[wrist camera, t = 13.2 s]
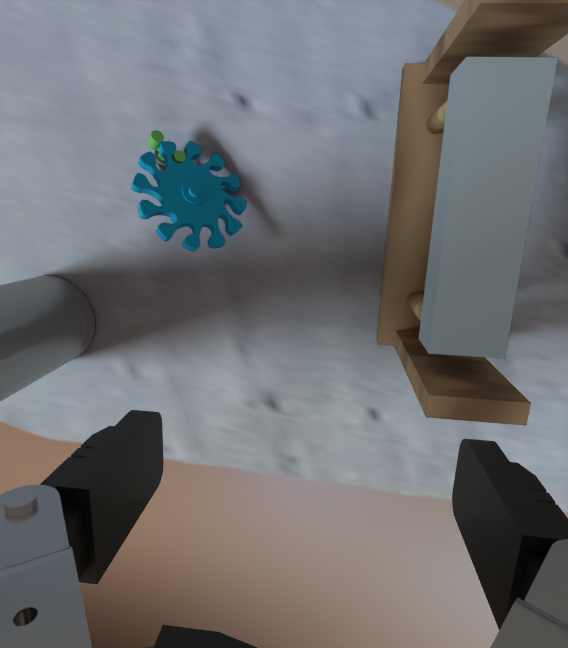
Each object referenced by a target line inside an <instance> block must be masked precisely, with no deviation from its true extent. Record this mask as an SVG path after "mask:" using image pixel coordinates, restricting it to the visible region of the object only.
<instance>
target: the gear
mask: <svg viewBox="0 0 568 648" xmlns="http://www.w3.org/2000/svg"><path fill="white" fill-rule="evenodd" d="M163 139H164V136H163V134H162V133H161V132H160V131H157V130H155V131H153V132H152V133H151V136H150V138H149V141H148V146H149V147H150V148H151V149H153V150H155V153H154V154H153V153H152V152H147V153H145V154H143V155H142V156H141V157H140V159H139V161H138V163H139V165H140V167H141V168H142V169H144V170H146V171H148V172H149V173H150V174H151V175H152V176H153V177H154V178H155V180H156V182H157V184H158V187H154V186H152V185H151V184H150V183H149V181H148V179H147V178H146V177H145V176H144V175H143V174H141V173H137V174H136V176H135V178H134V180H133V183H132V186H131V189H132V190H133V191H135V192H137V193H146V194H149V195H151V196H153V197H154V198H156V199H157V200H158V201H159V202H160V203H161V205H162V206H156V205H154V204H153V203H151V202H150V201H148V200H141V201H140V203H139V205H138V211H139V215H140V218H142V219H149V218H150V217H152V216H156V215H164V216H169V217H171V221H172V222H173V223H174V224H170V223H161V224H160V225H159V226H158V228H157V229H156V232H157V234H158V236H159V237H160V238H161V239H162V240H163V241H164V242H165V241H168V240H170V238H171V237H172V236H173V234H174V232H175V231H176V230H177V229H179V228H181V227H184V226H187V227H190V228H191V229H192V231H193V234H190V235H188V236H187V237H186V238H185V239H184V240H183V242H182V246H183V247H184V248H186V249H187V250H190V251H193V252H195V251H196V250H197V249H198V248H199V246H200V238H199V235H200V231H201V229H202V227H208V228H209V229H210V230H211V236H210V238H209V239H208V246H209V247H210V248H220V247H222V246H223V245H224V244H225V238H224V236H223V235H222V234H221V232H220V230H219V227H218V218H221V219H222V220H224V222H225V230H226V232H227V234H228V235H230V236H232V235H234V234H235V233H236V232H237V231H238V230H240V228H241V227H242V224H241V223H240V222H239V221H238V220H236V219H235V218H233V217H232V216H231V215H230V214H229V213H228V211H227V209H226V207H225V205H224V203H227V204H228V205H229V206H230V207H231V209H232V211H233V212H234V213H235V214H237V215H241V213H242V212H243V211H244V210H245V208H246V203H247V202H246V200H244V199H243V198H236V197H233V196H230V195H229V194H227V193H226V192H225V191H224V190H222V188H221V186H224V187H226V188H227V189H228V190H230V191H232V192H235V191H237V190H238V188H239V187H240V181H239V178H238V175H235V174H232V175H230V176H228V177H218V176H214V175H212V174H211V173H210V171H209V170H213V171H220V170H221V169H222V167H223V166H224V164H225V163H224V161H223V159H222V158H221V157H220V156H219V155H218V154H217V153H215V154H213V155H212V157H211V158H210V160H209V162H207V163H206V164H203V165H195V164H194V163H193V162H192V159H196V158H197V157H198V156H199V154H200V152H201V147H200V146H199V145H198V144H196V143H194V142H192V141H189V142H188V143H187V145H186V147H185V149H184V152H185V154H184V153H183V152H182V151H180V150H177V151H176V145H175V143H173V142H169V141H163ZM162 141H163V142H162Z"/></svg>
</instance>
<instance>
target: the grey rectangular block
mask: <svg viewBox="0 0 568 648" xmlns="http://www.w3.org/2000/svg"><path fill="white" fill-rule="evenodd" d="M557 59H558V58H547V57H466V58H465V59H464V60H463V61H462V63H461V64H460V65H459V66H458V67H457V68H456V69H455V70H454V72H453V73H452V74H451V76H450V84H449V92H448V100H447V109H446V117H445V125H444V133H443V142H442V150H441V158H440V166H439V175H438V183H437V191H436V200H435V208H434V216H433V224H432V233H431V241H430V249H429V257H428V266H427V274H426V282H425V290H424V299H423V307H422V315H421V323H420V332H419V340H420V341H421V343H422V344H423V346H424V347H425V349H426V350H427V352H428V353H429V354H444V355H458V356H473V357H488V358H503V359H505V356H506V350H507V345H508V339H509V333H510V327H511V322H512V316H513V310H514V305H515V299H516V293H517V288H518V282H519V276H520V270H521V265H522V259H523V253H524V248H525V242H526V236H527V230H528V225H529V219H530V213H531V208H532V202H533V196H534V191H535V185H536V179H537V173H538V168H539V162H540V156H541V151H542V145H543V139H544V133H545V128H546V122H547V116H548V111H549V105H550V99H551V94H552V88H553V82H554V76H555V71H556V65H557Z"/></svg>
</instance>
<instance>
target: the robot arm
mask: <svg viewBox="0 0 568 648" xmlns="http://www.w3.org/2000/svg"><path fill="white" fill-rule="evenodd" d="M94 332H95V318H94V313H93V310H92V308H91V305H90V303H89V302H88V300H87V298H86V297H85V295H84V294H83V293H82V292H81V291H80V290H79V289H78V288H77V287H76V286H74V285H73V284H72V283H70V282H68V281H66V280H64V279H62V278H58V277H55V276H40V277H35V278H30V279H26V280H22V281H17V282H13V283H8V284H4V285H0V401H2V400H4V399H5V398H7V397H9V396H11V395H12V394H14V393H16V392H17V391H19V390H21V389H23V388H24V387H26V386H28V385H29V384H31V383H33V382H35V381H36V380H38V379H40V378H41V377H43V376H45V375H47V374H48V373H50V372H52V371H54V370H55V369H57V368H59V367H61V366H62V365H64V364H66V363H67V362H69V361H71V360H72V359H74V358H76V357H78V356H79V355H80V354H82V353H83V352H84V351H85V350H86V349H87V348H88V347H89V345H90V343H91V341H92V340H93V336H94ZM162 473H163V436H162V418H161V415H160V413H159V412H150V411H138V410H131V411H130V412H128V413H127V414H126V415H125V416H124V417H123V418H122V419H121V420H120V421H119V422H118V423H117V424H116V425H115V426H109V427H107V428H105V429H103V430H101V431H99V432H97V433H95V434H93V435H92V436H91V437H90V438H89V439H87V440H86V441H85V442H84V443H83V444H82V445H81V448H78V449H77V450H76V451H75V452H74V453H73V454H72V455H71V457H69V458H67V459H66V461H64V462H63V463H62V464H61V465H60V466H59V467H58V468H57V469H56V470H55V471H54V472H53V473H52V474H51V475H49V477H47V478H46V479H45V480H44V481H43V482H42V483H41V484H40V485H28V486H23V487H19V488H15V489H12V490H10V491H7V492H5V493H3V494H1V495H0V648H92V646H91V641H90V636H89V631H88V626H87V621H86V616H85V611H84V606H83V601H82V596H81V590H80V585H79V582H83V583H91V584H98V582H99V581H100V579H101V578H102V576H103V574H104V573H105V571H106V570H107V568H108V566H109V565H110V563H111V562H112V560H113V558H114V557H115V555H116V554H117V552H118V550H119V549H120V547H121V545H122V544H123V542H124V541H125V539H126V538H127V536H128V534H129V533H130V531H131V529H132V528H133V526H134V525H135V523H136V521H137V520H138V518H139V516H140V515H141V513H142V512H143V510H144V509H145V507H146V505H147V504H148V502H149V500H150V499H151V497H152V496H153V494H154V493H155V491H156V489H157V488H158V486H159V484H160V481H161V477H162ZM452 503H453V512H454V516H455V519H456V522H457V524H458V527H459V529H460V532H461V534H462V537H463V539H464V542H465V545H466V547H467V550H468V552H469V555H470V557H471V560H472V562H473V565H474V567H475V570H476V572H477V575H478V578H479V580H480V583H481V585H482V588H483V590H484V593H485V595H486V598H487V600H488V603H489V605H490V608H491V610H492V613H493V615H494V618H495V621H496V623H497V625H498V628H499V633H498V635H497V636H496V638H495V640H494V642H493V644H492V646H491V648H568V518H567V517H566V516H565V514H564V513H563V511H562V510H561V509H560V508H559V506H558V505H555V501H554V500H553V498H552V497H551V496H550V494H549V493H546V489H545V488H544V486H543V485H542V484H541V482H540V481H539V480H538V478H537V477H536V476H535V475H534V474H532V473H531V472H530V471H528V470H527V469H525V468H524V467H523V466H521V465H520V464H518V463H514V462H509V460H508V459H507V457H506V456H505V455H504V453H503V452H502V450H501V449H500V447H499V446H498V445H497V443H496V442H494V441H485V440H474V439H463V440H462V441H461V444H460V448H459V454H458V461H457V467H456V473H455V480H454V486H453V494H452ZM146 648H257V647H254V646H252V645H249V644H247V643H244V642H242V641H239V640H237V639H235V638H232V637H230V636H227V635H225V634H222V633H220V632H214V631H206V630H199V629H191V628H183V627H175V626H168V625H163V626H162V628H161V631H160V633H159V635H158V638H157V640H156V643H155V645H154V646H153V647H146Z"/></svg>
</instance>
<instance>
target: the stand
mask: <svg viewBox="0 0 568 648" xmlns="http://www.w3.org/2000/svg"><path fill="white" fill-rule="evenodd" d="M566 34H568V0H465V1H464V2H463V4H462V5H461V7H460V8H459V10H458V11H457V13H456V15H455V16H454V18H453V19H452V21H451V22H450V24H449V26H448V27H447V29H446V30H445V32H444V33H443V35H442V37H441V38H440V40H439V41H438V43H437V44H436V46H435V47H434V49H433V51H432V52H431V54H430V55H429V57H428V58H427V60H426V62H425V63H424V64H421V63H405V65H404V67H403V70H402V80H401V91H400V101H399V112H398V122H397V132H396V143H395V153H394V164H393V174H392V184H391V195H390V205H389V216H388V226H387V237H386V247H385V257H384V268H383V278H382V289H381V299H380V309H379V320H378V330H377V343H378V345H391V346H394V347H395V349H396V351H397V353H398V356H399V358H400V360H401V362H402V365H403V367H404V369H405V371H406V373H407V376H408V378H409V380H410V382H411V385H412V387H413V389H414V391H415V394H416V396H417V398H418V400H419V402H420V405H421V407H422V409H423V411H424V414H425V416H426V417H428V418H440V419H452V420H465V421H477V422H489V423H502V424H514V425H527V420H528V415H529V410H530V404H531V403H530V402H529V401H528V400H527V399H526V398H525V397H524V396H523V395H522V394H521V393H520V392H519V391H518V390H517V389H516V388H515V387H514V386H513V385H512V384H511V383H510V382H509V381H508V380H507V379H506V378H505V377H504V376H503V375H502V374H501V373H500V372H499V371H498V370H497V369H496V368H495V367H494V366H493V365H492V364H491V363H490V362H489V361H488V360H487V359H486V358H485V357H473V356H458V355H444V354H429V353H428V352H427V350H426V349H425V347H424V346H423V344H422V343H421V341H420V340H419V332H420V323H421V315H422V307H423V299H424V290H425V282H426V274H427V266H428V257H429V249H430V241H431V233H432V224H433V216H434V208H435V200H436V191H437V183H438V175H439V166H440V158H441V150H442V142H443V133H444V125H445V117H446V109H447V100H448V92H449V84H450V76H451V74H452V73H453V72H454V70H455V69H456V68H457V67H458V66H459V65H460V64H461V63H462V61H463V60H464V59H465V58H466V57H537V56H538V55H539V54H541V53H542V52H543V51H545V50H546V49H547V48H549V47H550V46H551V45H553V44H554V43H556V42H557V41H558V40H560V39H561V38H562V37H564V36H565V35H566Z"/></svg>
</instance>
